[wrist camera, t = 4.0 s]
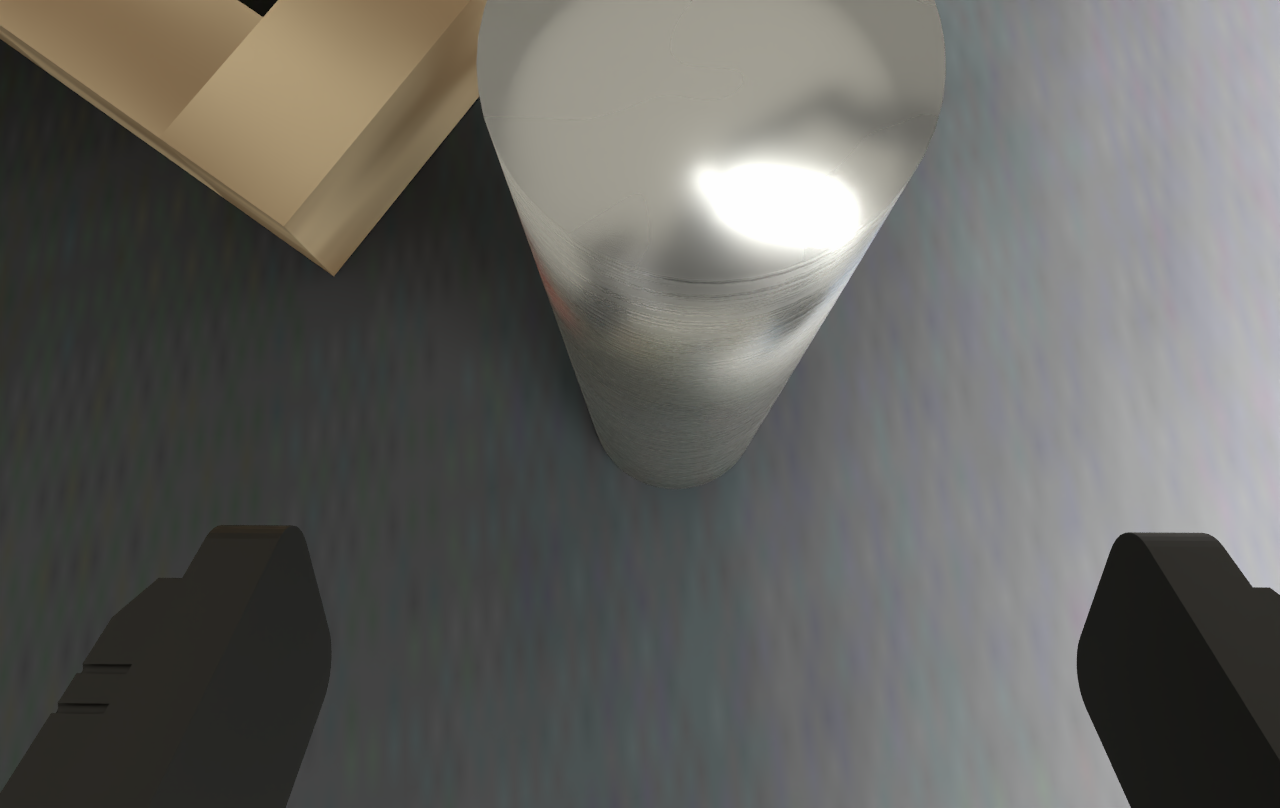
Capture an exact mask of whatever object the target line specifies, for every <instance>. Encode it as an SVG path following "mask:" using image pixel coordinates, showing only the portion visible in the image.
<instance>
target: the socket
mask: <svg viewBox="0 0 1280 808" xmlns="http://www.w3.org/2000/svg"><path fill="white" fill-rule="evenodd" d="M486 2H487V0H278V1H277V2H276V3H275V4H274V5H273V7H272V8H271V9H270V10H269V11H268V12H267V14H266V15H265V16H264V17H262V16H260V15H259V14H257V13H256V12H255V11H253V10H252V9H250V8H249V7H247V6H246V5H244V4H243V3H241V2H240V1H238V0H0V39H1V40H3V41H4V42H6V43H7V44H8V45H10V46H11V47H13V48H14V49H15V50H17V51H18V52H20V53H21V54H22V55H24V56H25V57H27V58H28V59H29V60H31V61H32V62H34V63H35V64H36V65H38V66H39V67H41V68H42V69H43V70H45V71H46V72H48V73H49V74H50V75H52V76H53V77H55V78H56V79H57V80H59V81H60V82H62V83H63V84H64V85H66V86H67V87H69V88H70V89H72V90H73V91H74V92H76V93H77V94H79V95H80V96H81V97H83V98H84V99H86V100H87V101H88V102H90V103H91V104H93V105H94V106H95V107H97V108H98V109H100V110H101V111H102V112H104V113H105V114H107V115H108V116H109V117H111V118H112V119H114V120H115V121H116V122H118V123H119V124H121V125H122V126H123V127H125V128H126V129H128V130H129V131H130V132H132V133H133V134H135V135H136V136H137V137H139V138H140V139H142V140H143V141H144V142H146V143H147V144H149V145H150V146H152V147H153V148H154V149H156V150H157V151H159V152H160V153H161V154H163V155H164V156H166V157H167V158H168V159H170V160H171V161H173V162H174V163H175V164H177V165H178V166H180V167H181V168H182V169H184V170H185V171H187V172H188V173H189V174H191V175H192V176H194V177H195V178H196V179H198V180H199V181H201V182H202V183H203V184H205V185H206V186H208V187H209V188H210V189H212V190H213V191H215V192H216V193H217V194H219V195H220V196H222V197H223V198H224V199H226V200H227V201H229V202H230V203H232V204H233V205H234V206H236V207H237V208H239V209H240V210H241V211H243V212H244V213H246V214H247V215H248V216H250V217H251V218H253V219H254V220H255V221H257V222H258V223H260V224H261V225H262V226H264V227H265V228H267V229H268V230H269V231H271V232H272V233H274V234H275V235H276V236H278V237H279V238H281V239H282V240H283V241H285V242H286V243H288V244H289V245H290V246H292V247H293V248H295V249H296V250H297V251H299V252H300V253H302V254H303V255H304V256H306V257H307V258H309V259H310V260H312V261H313V262H314V263H316V264H317V265H319V266H320V267H321V268H323V269H324V270H326V271H327V272H328V273H330V274H331V275H333V276H335V274H336V273H337V272H338V271H339V269H340V268H341V267H342V266H343V264H344V263H345V262H346V261H347V260H348V258H349V257H350V256H351V255H352V253H353V252H354V251H355V250H356V248H357V247H358V246H359V245H360V243H361V242H362V241H363V240H364V238H365V237H366V236H367V235H368V233H369V232H370V231H371V230H372V229H373V227H374V226H375V225H376V224H377V222H378V221H379V220H380V219H381V217H382V216H383V215H384V214H385V212H386V211H387V210H388V209H389V207H390V206H391V205H392V204H393V202H394V201H395V200H396V199H397V198H398V196H399V195H400V194H401V193H402V191H403V190H404V189H405V188H406V186H407V185H408V184H409V183H410V181H411V180H412V179H413V178H414V176H415V175H416V174H417V173H418V172H419V170H420V169H421V168H422V167H423V165H424V164H425V163H426V162H427V160H428V159H429V158H430V157H431V155H432V154H433V153H434V152H435V150H436V149H437V148H438V147H439V145H440V144H441V143H442V142H443V141H444V139H445V138H446V137H447V136H448V134H449V133H450V132H451V131H452V129H453V128H454V127H455V126H456V124H457V123H458V122H459V121H460V119H461V118H462V117H463V116H464V115H465V113H466V112H467V111H468V110H469V108H470V107H471V106H472V105H473V103H474V102H475V101H476V100H477V98H478V97H479V92H478V80H477V67H476V61H477V47H478V35H479V30H480V26H481V21H482V16H483V12H484V8H485V5H486Z"/></svg>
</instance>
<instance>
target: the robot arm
mask: <svg viewBox="0 0 1280 808" xmlns="http://www.w3.org/2000/svg"><path fill="white" fill-rule="evenodd" d="M330 669H331V638H330V632H329V628H328V624H327V620H326V616H325V612H324V609H323V605H322V601H321V597H320V593H319V589H318V586H317V582H316V578H315V574H314V570H313V567H312V563H311V559H310V555H309V551H308V547H307V544H306V540H305V537H304V535H303V533H302V531H301V530H300V529H299V528H298V527H296V526H269V525H221V526H217V527H215V528H214V529H213V530H212V531H211V532H210V533H209V534H208V535H207V537H206V538H205V540H204V542H203V543H202V545H201V547H200V549H199V550H198V552H197V554H196V555H195V557H194V559H193V561H192V562H191V564H190V566H189V568H188V569H187V571H186V573H185V574H184V576H183V578H158V579H157V580H156V581H155V582H153V583H152V584H151V585H150V586H149V587H148V588H146V589H145V590H144V591H143V592H142V593H140V594H139V595H138V596H137V597H136V598H135V599H133V600H132V601H131V602H130V603H129V604H127V605H126V606H125V607H124V608H123V609H122V610H120V611H119V612H118V613H117V614H116V615H115V616H113V617H112V619H111V620H110V622H109V623H108V625H107V626H106V628H105V630H104V631H103V633H102V634H101V636H100V637H99V639H98V641H97V642H96V644H95V645H94V647H93V648H92V650H91V652H90V653H89V655H88V656H87V658H86V659H85V661H84V663H83V671H82V673H77V674H76V675H75V677H74V678H73V680H72V681H71V683H70V685H69V686H68V688H67V689H66V691H65V692H64V694H63V696H62V697H61V699H60V700H59V702H58V710H57V712H56V713H51V714H50V716H49V718H48V719H47V721H46V722H45V724H44V725H43V727H42V729H41V730H40V732H39V733H38V735H37V736H36V738H35V740H34V741H33V743H32V744H31V746H30V747H29V749H28V751H27V752H26V754H25V755H24V757H23V758H22V760H21V762H20V763H19V765H18V766H17V768H16V769H15V771H14V773H13V774H12V776H11V777H10V779H9V780H8V782H7V784H6V785H5V787H4V788H3V790H2V791H1V793H0V808H286V805H287V802H288V799H289V796H290V794H291V791H292V788H293V785H294V782H295V779H296V777H297V774H298V771H299V768H300V765H301V763H302V760H303V757H304V754H305V751H306V749H307V746H308V743H309V740H310V737H311V734H312V732H313V729H314V726H315V723H316V720H317V718H318V715H319V712H320V709H321V706H322V704H323V701H324V698H325V695H326V691H327V687H328V683H329V677H330ZM1077 675H1078V682H1079V687H1080V692H1081V695H1082V698H1083V702H1084V704H1085V707H1086V709H1087V711H1088V713H1089V716H1090V718H1091V720H1092V722H1093V724H1094V727H1095V729H1096V731H1097V733H1098V736H1099V738H1100V740H1101V742H1102V744H1103V747H1104V749H1105V751H1106V753H1107V755H1108V758H1109V760H1110V762H1111V764H1112V767H1113V769H1114V771H1115V773H1116V775H1117V778H1118V780H1119V782H1120V784H1121V787H1122V789H1123V791H1124V793H1125V795H1126V798H1127V800H1128V802H1129V804H1130V806H1131V808H1280V595H1279V594H1278V593H1276V592H1275V591H1274V590H1272V589H1271V588H1253V587H1252V586H1251V585H1250V583H1249V582H1248V580H1247V579H1246V578H1245V576H1244V575H1243V573H1242V572H1241V571H1240V569H1239V568H1238V566H1237V565H1236V564H1235V562H1234V561H1233V560H1232V558H1231V557H1230V555H1229V554H1228V553H1227V551H1226V550H1225V548H1224V547H1223V546H1222V545H1221V543H1220V542H1219V541H1218V540H1217V539H1215V538H1214V537H1213V536H1211V535H1209V534H1205V533H1124V534H1122V535H1120V536H1119V537H1118V538H1117V539H1116V541H1115V542H1114V544H1113V546H1112V548H1111V551H1110V554H1109V557H1108V559H1107V562H1106V565H1105V568H1104V571H1103V574H1102V577H1101V579H1100V582H1099V585H1098V588H1097V591H1096V594H1095V597H1094V599H1093V602H1092V605H1091V608H1090V611H1089V614H1088V617H1087V619H1086V622H1085V625H1084V628H1083V631H1082V634H1081V637H1080V640H1079V644H1078V650H1077Z"/></svg>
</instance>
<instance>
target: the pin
mask: <svg viewBox="0 0 1280 808" xmlns="http://www.w3.org/2000/svg"><path fill="white" fill-rule="evenodd" d="M476 67H477V80H478V92H479V97H480V101H481V106H482V111H483V115H484V119H485V122H486V125H487V128H488V131H489V133H490V136H491V139H492V142H493V145H494V147H495V150H496V153H497V156H498V159H499V161H500V164H501V167H502V170H503V173H504V175H505V178H506V181H507V184H508V187H509V189H510V192H511V195H512V198H513V201H514V203H515V206H516V209H517V212H518V215H519V217H520V220H521V223H522V226H523V229H524V231H525V234H526V237H527V240H528V242H529V245H530V248H531V251H532V254H533V256H534V259H535V262H536V265H537V268H538V270H539V273H540V276H541V279H542V282H543V284H544V287H545V290H546V293H547V296H548V298H549V301H550V304H551V307H552V310H553V312H554V315H555V318H556V321H557V324H558V326H559V329H560V332H561V335H562V338H563V340H564V343H565V346H566V349H567V351H568V354H569V357H570V360H571V363H572V365H573V368H574V371H575V374H576V377H577V379H578V382H579V385H580V388H581V391H582V393H583V396H584V399H585V402H586V405H587V407H588V410H589V413H590V416H591V419H592V421H593V424H594V427H595V430H596V432H597V435H598V438H599V441H600V442H601V444H602V446H603V448H604V450H605V451H606V453H607V454H608V456H609V457H610V458H611V460H612V461H613V462H614V463H615V464H616V465H617V466H618V467H619V468H620V469H622V470H623V471H624V472H625V473H626V474H628V475H630V476H631V477H633V478H634V479H636V480H638V481H640V482H643V483H645V484H648V485H651V486H654V487H659V488H665V489H685V488H692V487H696V486H700V485H703V484H705V483H708V482H711V481H712V480H714V479H716V478H718V477H720V476H721V475H723V474H724V473H725V472H727V471H728V470H729V469H730V468H731V467H732V466H733V465H734V464H736V463H737V461H738V460H739V459H740V458H741V456H742V455H743V454H744V452H745V450H746V449H747V447H748V445H749V444H750V442H751V440H752V439H753V437H754V436H755V434H756V432H757V431H758V429H759V427H760V426H761V424H762V422H763V421H764V419H765V417H766V416H767V414H768V412H769V411H770V409H771V407H772V406H773V404H774V402H775V401H776V399H777V398H778V396H779V394H780V393H781V391H782V389H783V388H784V386H785V384H786V383H787V381H788V379H789V378H790V376H791V374H792V373H793V371H794V369H795V368H796V366H797V365H798V363H799V361H800V360H801V358H802V356H803V355H804V353H805V351H806V350H807V348H808V346H809V345H810V343H811V341H812V340H813V338H814V336H815V335H816V333H817V331H818V330H819V328H820V327H821V325H822V323H823V322H824V320H825V318H826V317H827V315H828V313H829V312H830V310H831V308H832V307H833V305H834V303H835V302H836V300H837V298H838V297H839V295H840V294H841V292H842V290H843V289H844V287H845V285H846V284H847V282H848V280H849V279H850V277H851V275H852V274H853V272H854V270H855V269H856V267H857V265H858V264H859V262H860V261H861V259H862V257H863V256H864V254H865V252H866V251H867V249H868V247H869V246H870V244H871V242H872V241H873V239H874V237H875V236H876V234H877V232H878V231H879V229H880V227H881V226H882V224H883V223H884V221H885V219H886V218H887V216H888V214H889V213H890V211H891V209H892V208H893V206H894V204H895V203H896V201H897V199H898V198H899V196H900V194H901V193H902V191H903V190H904V188H905V186H906V185H907V183H908V181H909V180H910V178H911V176H912V175H913V173H914V171H915V170H916V168H917V166H918V165H919V163H920V161H921V160H922V158H923V156H924V155H925V152H926V150H927V147H928V145H929V143H930V140H931V138H932V136H933V133H934V131H935V129H936V125H937V121H938V117H939V113H940V110H941V106H942V102H943V94H944V85H945V76H946V63H945V43H944V37H943V32H942V26H941V20H940V16H939V13H938V10H937V7H936V4H935V1H934V0H487V2H486V5H485V8H484V12H483V16H482V21H481V26H480V30H479V35H478V47H477V61H476Z"/></svg>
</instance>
